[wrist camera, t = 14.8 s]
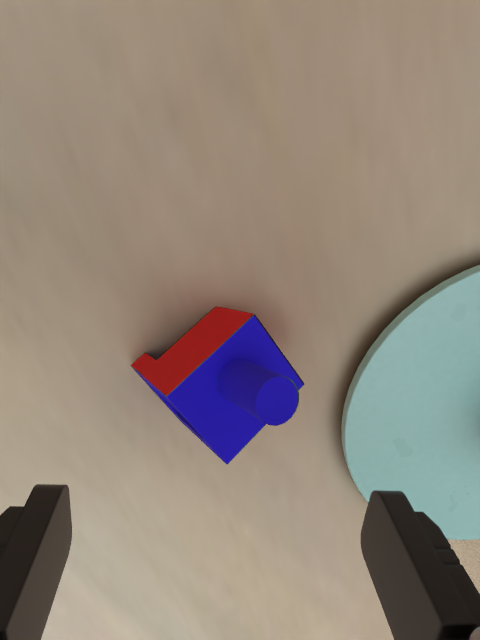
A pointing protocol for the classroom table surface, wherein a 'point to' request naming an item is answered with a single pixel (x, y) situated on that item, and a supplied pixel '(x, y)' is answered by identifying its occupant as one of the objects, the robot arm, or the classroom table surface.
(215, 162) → the classroom table surface
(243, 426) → the toy building block
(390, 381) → the pot lid
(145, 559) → the classroom table surface
